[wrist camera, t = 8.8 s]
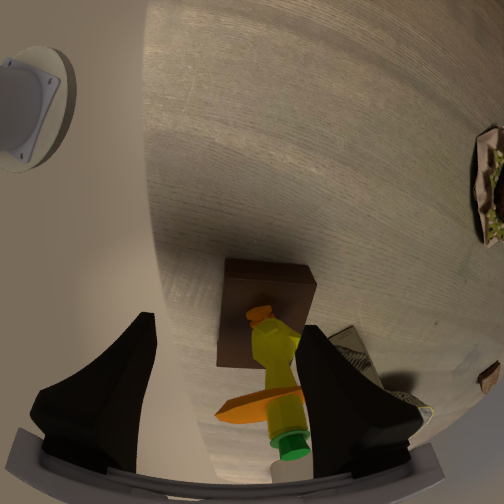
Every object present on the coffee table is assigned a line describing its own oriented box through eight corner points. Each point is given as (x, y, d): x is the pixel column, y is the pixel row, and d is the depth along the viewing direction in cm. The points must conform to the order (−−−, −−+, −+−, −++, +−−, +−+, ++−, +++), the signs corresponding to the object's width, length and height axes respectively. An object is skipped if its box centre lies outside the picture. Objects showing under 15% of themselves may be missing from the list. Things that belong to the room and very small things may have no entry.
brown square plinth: (225, 257, 22) (224, 277, 20) (308, 265, 23) (317, 284, 20) (217, 344, 27) (216, 367, 24) (284, 348, 27) (289, 369, 25)
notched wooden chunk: (490, 360, 42) (502, 360, 37) (494, 379, 40) (506, 381, 35) (471, 376, 42) (483, 377, 37) (475, 395, 40) (487, 398, 35)
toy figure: (228, 342, 22) (230, 476, 12) (209, 312, 21) (200, 459, 10) (304, 317, 22) (346, 451, 11) (293, 284, 20) (339, 431, 10)
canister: (267, 457, 43) (277, 542, 25) (345, 442, 43) (367, 523, 25) (273, 475, 50) (281, 541, 32) (336, 463, 50) (351, 527, 32)
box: (353, 323, 27) (401, 426, 15) (364, 345, 28) (406, 437, 17) (309, 347, 28) (340, 454, 16) (324, 366, 30) (353, 462, 18)
